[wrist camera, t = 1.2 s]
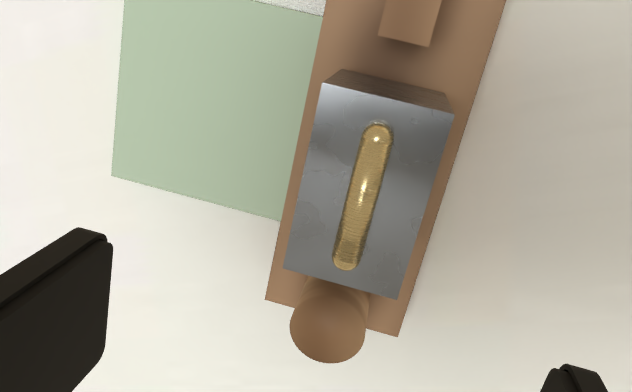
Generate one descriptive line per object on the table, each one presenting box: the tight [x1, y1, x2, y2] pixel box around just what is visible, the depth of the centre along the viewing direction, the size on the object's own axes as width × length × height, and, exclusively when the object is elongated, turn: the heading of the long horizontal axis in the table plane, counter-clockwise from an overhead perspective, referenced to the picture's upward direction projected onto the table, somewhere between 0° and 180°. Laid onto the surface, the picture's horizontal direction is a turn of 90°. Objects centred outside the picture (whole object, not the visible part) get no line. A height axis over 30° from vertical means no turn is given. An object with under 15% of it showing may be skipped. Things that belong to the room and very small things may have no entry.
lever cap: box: [283, 69, 455, 300], centre depth 23 cm, size 5×8×7 cm, turn 168°
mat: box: [111, 0, 323, 221], centre depth 30 cm, size 12×12×1 cm
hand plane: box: [265, 0, 506, 363], centre depth 26 cm, size 8×20×8 cm, turn 168°
